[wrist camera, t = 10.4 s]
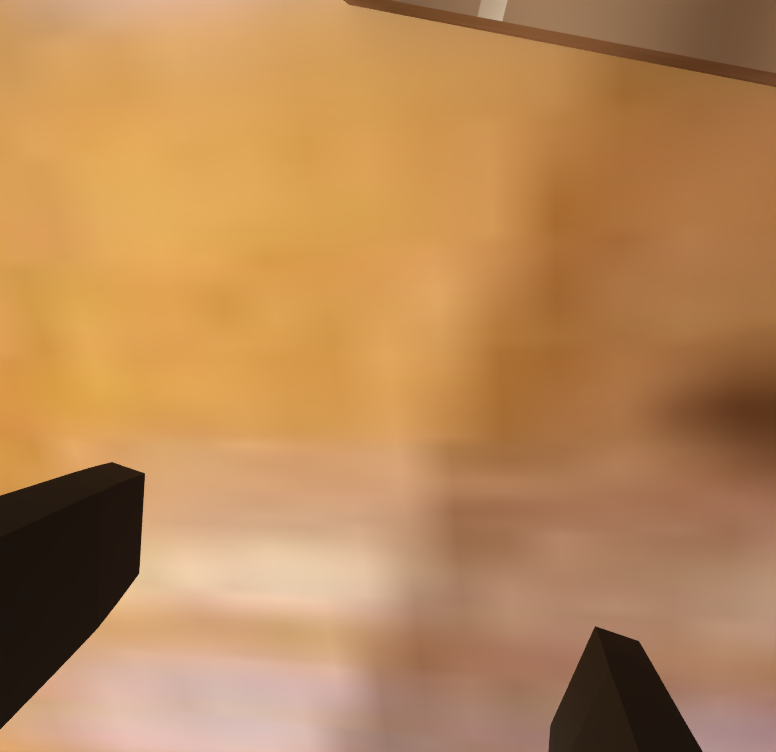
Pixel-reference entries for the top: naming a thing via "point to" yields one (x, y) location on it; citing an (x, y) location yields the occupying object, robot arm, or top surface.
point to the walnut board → (626, 28)
